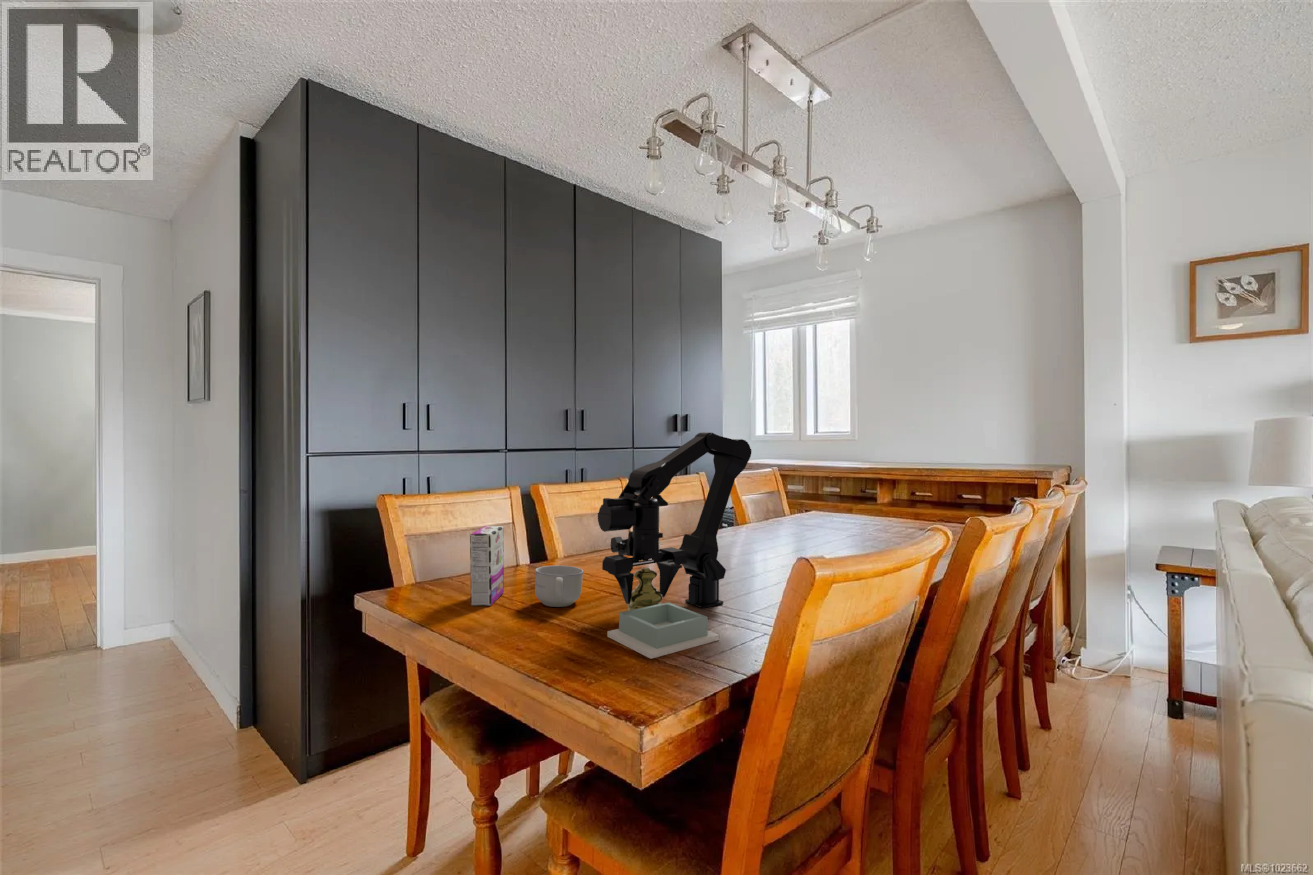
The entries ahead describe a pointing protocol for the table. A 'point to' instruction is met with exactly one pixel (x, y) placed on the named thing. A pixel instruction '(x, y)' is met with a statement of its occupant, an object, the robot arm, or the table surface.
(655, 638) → the grey green tray
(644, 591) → the gold rounded piece
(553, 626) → the table surface
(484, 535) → the candy bar box
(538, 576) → the teacup
